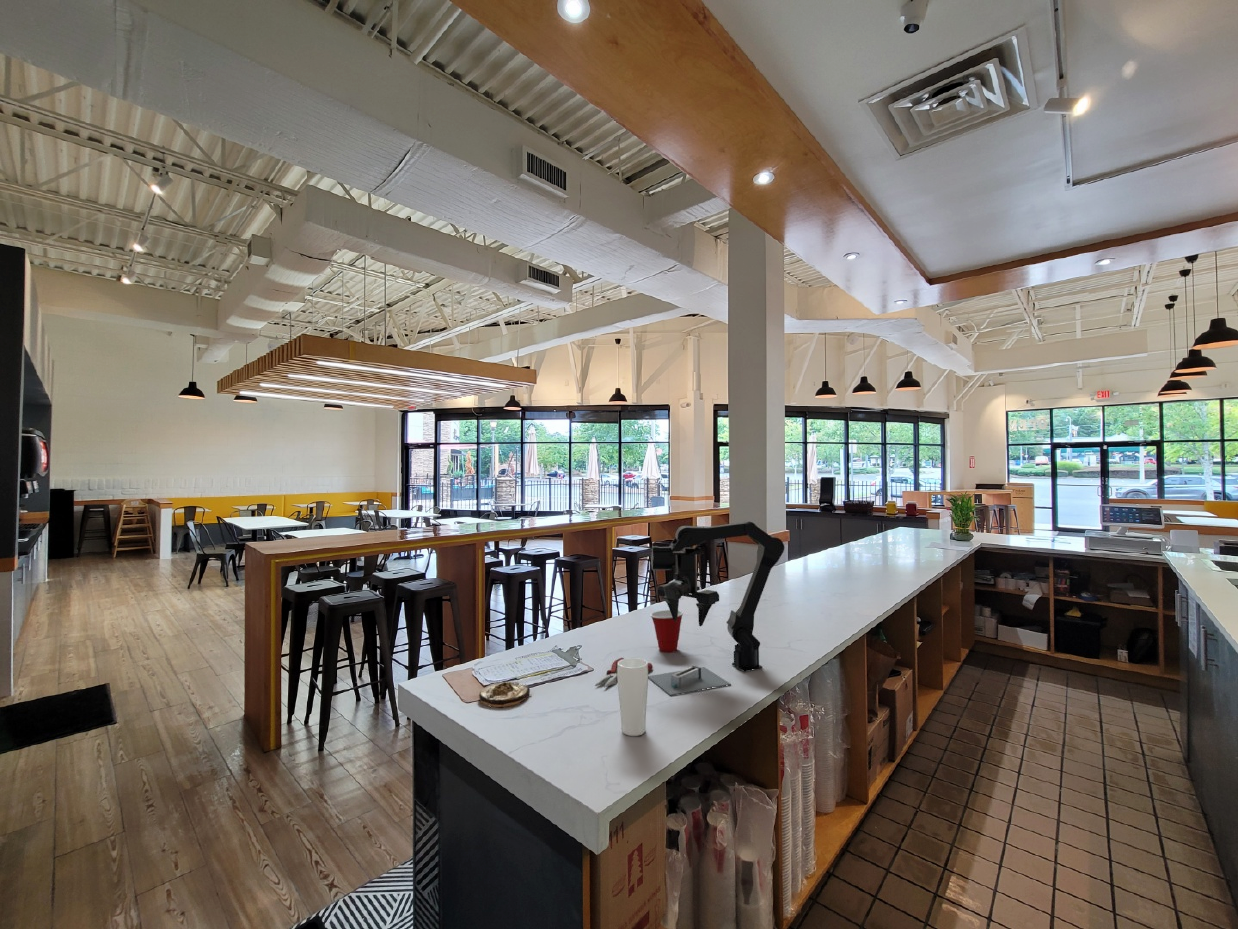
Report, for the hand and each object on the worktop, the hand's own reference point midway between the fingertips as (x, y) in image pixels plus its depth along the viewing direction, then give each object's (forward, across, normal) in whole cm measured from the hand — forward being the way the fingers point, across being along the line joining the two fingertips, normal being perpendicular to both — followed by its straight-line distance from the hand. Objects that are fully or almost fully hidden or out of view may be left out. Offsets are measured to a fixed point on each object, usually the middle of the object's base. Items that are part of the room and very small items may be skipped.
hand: (687, 623), depth 157 cm
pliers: (+14, -12, -17) cm, 25 cm away
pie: (+14, -22, -48) cm, 55 cm away
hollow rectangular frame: (+11, +6, -5) cm, 14 cm away
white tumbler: (+13, +14, -40) cm, 44 cm away
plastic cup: (+13, -16, +10) cm, 22 cm away
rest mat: (+13, +6, -8) cm, 17 cm away
